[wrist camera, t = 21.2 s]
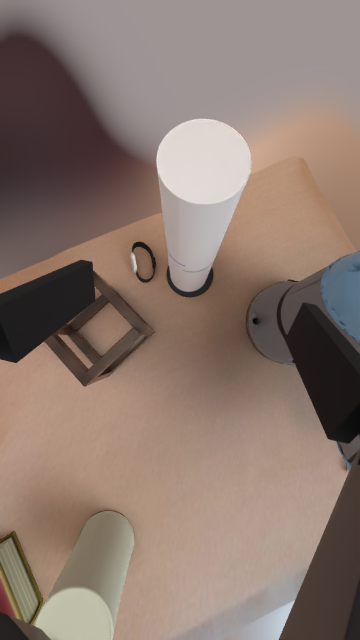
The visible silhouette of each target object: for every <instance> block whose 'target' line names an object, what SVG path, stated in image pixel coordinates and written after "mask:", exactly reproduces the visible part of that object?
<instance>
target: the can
mask: <svg viewBox="0 0 360 640" xmlns="http://www.w3.org/2000/svg"><path fill="white" fill-rule="evenodd" d="M133 548H134V532H133V529H132V526H131V524H130V523H129V521H128V520H127V519H126V518H125V517H124V516H123V515H121V514H120V513H117V512H114V511H103V512H99V513H97V514H95V515H94V516H92V517H91V518H90V519H89V520H88V521H87V522H86V524H85V525H84V527H83V529H82V531H81V534H80V537H79V539H78V541H77V543H76V545H75V547H74V549H73V551H72V553H71V554H70V556H69V558H68V560H67V562H66V564H65V566H64V568H63V570H62V572H61V574H60V575H59V577H58V579H57V581H56V583H55V585H54V587H53V589H52V591H51V592H50V594H49V596H48V598H47V600H46V602H45V603H44V605H43V606H42V608H41V610H40V612H39V614H38V616H37V619H36V623H35V627H38V628H40V629H42V630H43V632H44V633H45V634H46V635H47V636H48V637H49V638H50V639H51V640H112V639H113V632H114V627H115V623H116V618H117V613H118V609H119V604H120V600H121V595H122V591H123V587H124V582H125V578H126V574H127V569H128V565H129V561H130V557H131V555H132V552H133Z"/></svg>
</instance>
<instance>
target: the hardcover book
mask: <svg viewBox="0 0 360 640" xmlns="http://www.w3.org/2000/svg"><path fill="white" fill-rule="evenodd" d="M42 603H43V598H42V596H41V594H40V591H39V589H38V587H37V584H36V582H35V579H34V577H33V575H32V572H31V570H30V568H29V565H28V563H27V560H26V558H25V556H24V553H23V551H22V548H21V546H20V544H19V541H18V539H17V537H16V534H15V532H13V533H11V534H9V535H8V536H6V537H4V538H3V539H1V540H0V612H2V613H5V614H7V615H10V616H12V617H14V618H17V619H19V620H21V621H24V622H26V623H28V624H31V625H32V624H33V623H34V621H35V619H36V617H37V615H38V613H39V611H40V609H41V606H42Z"/></svg>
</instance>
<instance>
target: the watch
mask: <svg viewBox="0 0 360 640" xmlns="http://www.w3.org/2000/svg"><path fill="white" fill-rule="evenodd" d="M136 247H143V248H144V249H146V250H147V251H148V252H149V254H150V256H151V259H152V264H153V265H152V266H153V269H154V272H153V276H154V273H155V264H156V262H155V257H153V254H152V251H151V249H150V248H149V247H148V246H147V245H146V244H145V243H143V242H136V243H134V245H133V247H132V254H131V263H132V268H133V271H134V272H136V275H137V277H138V279H139V280H140V281H142V282H149V281H150V280H151V279H152V278H153V276H152V277H151V278H150V279H147V280H144V279H142V278H141V277H140V276H139V275H138V272H137V265H136V258H135V256H134V254H133V250H134V249H135V248H136Z"/></svg>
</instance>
